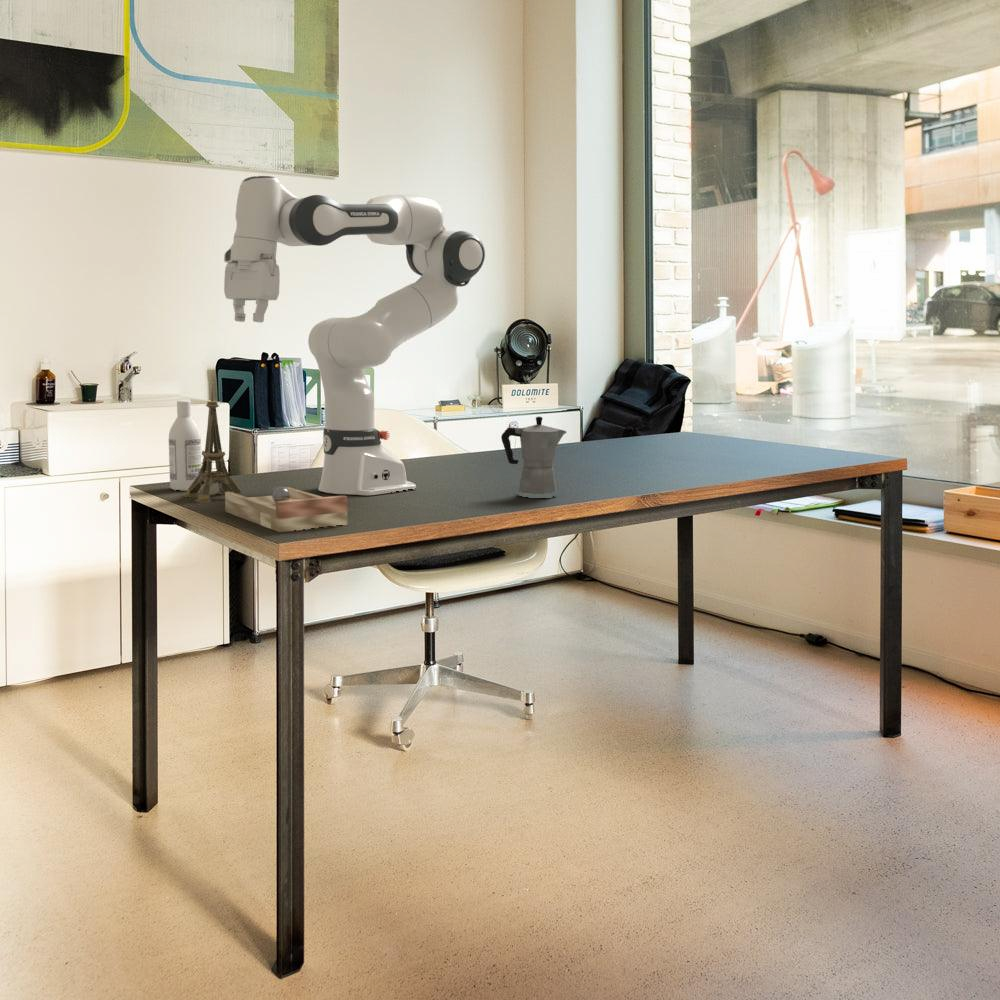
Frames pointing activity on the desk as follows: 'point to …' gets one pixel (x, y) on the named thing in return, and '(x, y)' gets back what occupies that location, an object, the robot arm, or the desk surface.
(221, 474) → the eiffel tower
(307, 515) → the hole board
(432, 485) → the desk surface
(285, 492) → the steel ball
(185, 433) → the bath foam
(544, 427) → the coffeepot
